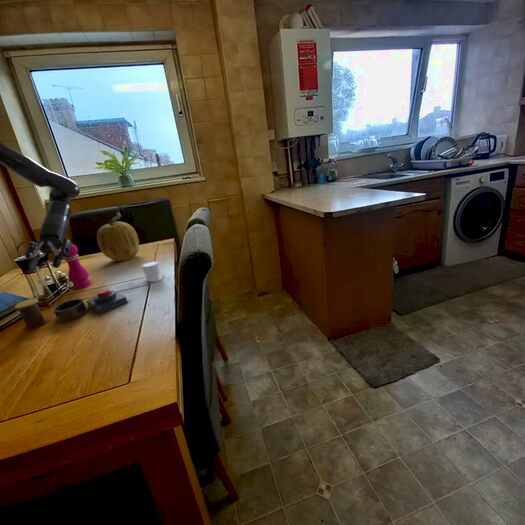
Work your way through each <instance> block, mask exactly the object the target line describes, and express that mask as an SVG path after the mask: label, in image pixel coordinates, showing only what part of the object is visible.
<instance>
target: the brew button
mask: <svg viewBox="0 0 525 525" xmlns="http://www.w3.org/2000/svg"><path fill="white" fill-rule="evenodd" d="M97 294H98V296H99V298H102V297H106V296H108V295H110V289H109V288H103V289H100V290H98V291H97Z"/></svg>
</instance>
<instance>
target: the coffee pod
mask: <svg viewBox="0 0 525 525" xmlns="http://www.w3.org/2000/svg"><path fill="white" fill-rule="evenodd" d="M38 302H39V299H38V298H35V297H34V298H28V299H25V300H21V301H20V302H17V303H16V304H15V305H14V309H16V310H18V311H19V314H20V316H21V318H22V320H23V322H24V324H25V326H26V328H27V329H29V330H31V329H36V328H38V327H40V326H43V325H45V323H46V320H45V317H44V314H43V312H42V310H41V308H40V305H39V303H38Z"/></svg>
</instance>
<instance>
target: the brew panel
mask: <svg viewBox="0 0 525 525" xmlns="http://www.w3.org/2000/svg"><path fill="white" fill-rule="evenodd" d="M109 291H110V295H108V296H106V297H102V298H99V296H98V293H97V294H96V295H94V297H92V298H90V299H87V300H86V304H87V306H88V308H90V309H91V310H93V311H94V312H96V313H97V314H99V315H104V314H106V313H109V312H110V311H113V310H115V309H118V308H120V307H121V306H123V305H126V304H128V302H129V301H128V299H127V296H125V295H123V294H121V293H119V292H117V291H115V290H114V289H113V290H111V289H109Z"/></svg>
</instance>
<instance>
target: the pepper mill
mask: <svg viewBox="0 0 525 525" xmlns="http://www.w3.org/2000/svg"><path fill="white" fill-rule="evenodd" d="M61 248H62V246H61V247H60V249H61ZM65 251H66V250H65ZM78 252H79V249H78V247H77V245H75V244H73V243H71V247H70V253H69V256H64V257H63V259H64V261H65V262H66V263H67V266H68V275H67V276H68V280H69V282H70V283H72V287H73V289H75V290H79V289H83V288H87V287H88V286H90V285H91V283H92V282H91V281H90V279H89V277H90V274H89V272H88V270H87V269H85V268H84V266H83V265H82V264H81V262H80V260H79V258H80V255H79V254H78Z"/></svg>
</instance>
